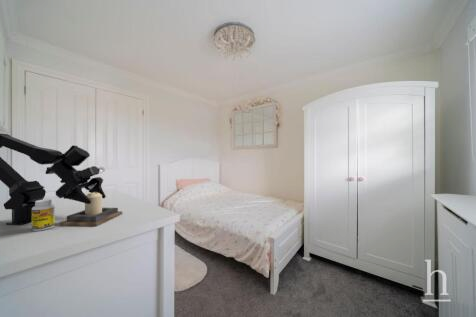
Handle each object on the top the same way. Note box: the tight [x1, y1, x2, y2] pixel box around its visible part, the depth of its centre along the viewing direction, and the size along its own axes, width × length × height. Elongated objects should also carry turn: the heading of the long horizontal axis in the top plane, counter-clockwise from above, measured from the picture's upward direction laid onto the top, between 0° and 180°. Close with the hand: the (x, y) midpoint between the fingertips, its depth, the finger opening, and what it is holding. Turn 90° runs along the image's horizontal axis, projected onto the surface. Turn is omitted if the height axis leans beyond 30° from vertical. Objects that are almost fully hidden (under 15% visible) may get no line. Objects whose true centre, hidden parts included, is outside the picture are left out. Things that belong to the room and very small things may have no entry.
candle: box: [84, 192, 103, 215], centre depth 73 cm, size 6×6×10 cm
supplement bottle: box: [31, 198, 56, 232], centre depth 63 cm, size 6×6×10 cm
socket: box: [60, 207, 123, 227], centre depth 73 cm, size 14×14×3 cm
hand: (97, 200), depth 73 cm, fingers open, 9 cm apart
